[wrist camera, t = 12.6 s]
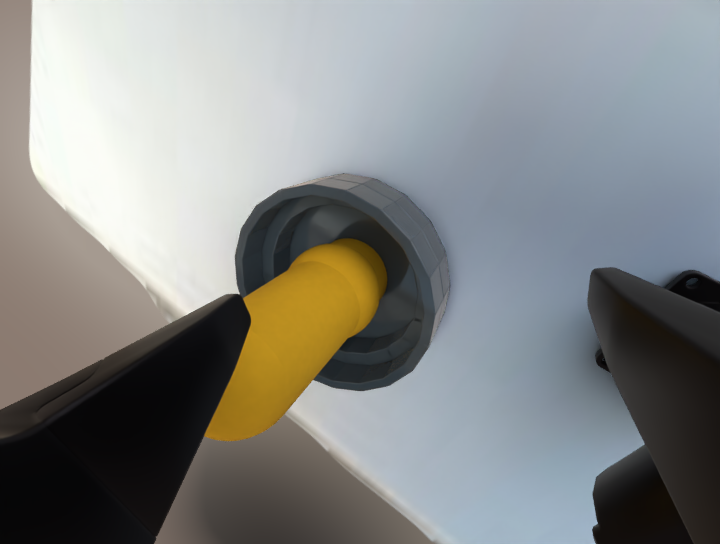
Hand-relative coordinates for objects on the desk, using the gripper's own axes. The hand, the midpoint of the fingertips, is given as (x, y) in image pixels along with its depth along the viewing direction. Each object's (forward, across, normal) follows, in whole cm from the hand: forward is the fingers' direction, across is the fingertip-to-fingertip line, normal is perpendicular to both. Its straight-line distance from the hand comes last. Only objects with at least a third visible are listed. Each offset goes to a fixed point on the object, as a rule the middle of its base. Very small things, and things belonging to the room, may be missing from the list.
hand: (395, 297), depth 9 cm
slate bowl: (+13, +5, +6) cm, 15 cm away
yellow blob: (+12, +5, +6) cm, 15 cm away
